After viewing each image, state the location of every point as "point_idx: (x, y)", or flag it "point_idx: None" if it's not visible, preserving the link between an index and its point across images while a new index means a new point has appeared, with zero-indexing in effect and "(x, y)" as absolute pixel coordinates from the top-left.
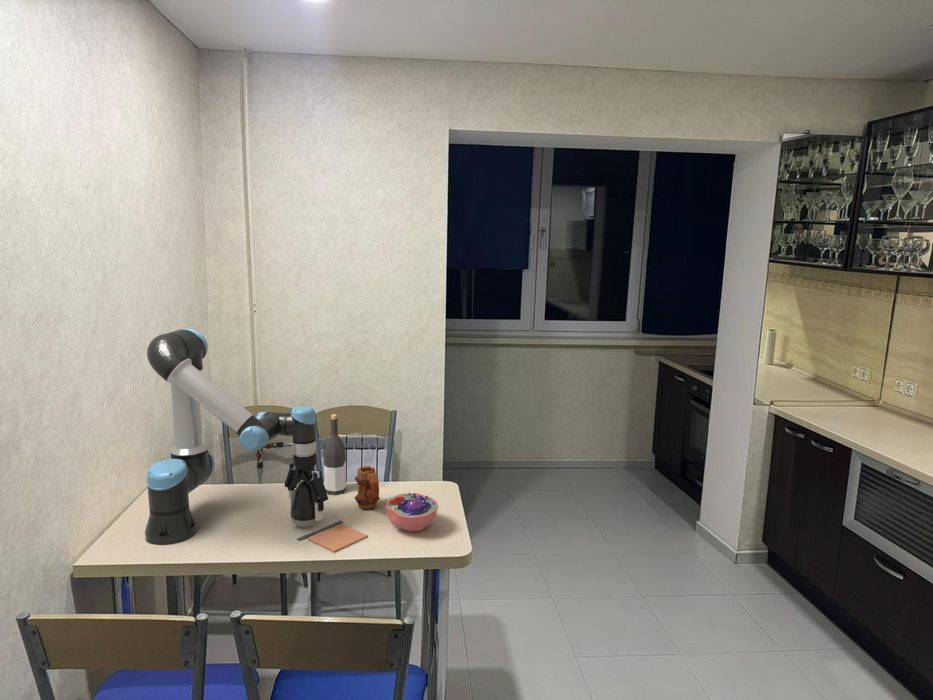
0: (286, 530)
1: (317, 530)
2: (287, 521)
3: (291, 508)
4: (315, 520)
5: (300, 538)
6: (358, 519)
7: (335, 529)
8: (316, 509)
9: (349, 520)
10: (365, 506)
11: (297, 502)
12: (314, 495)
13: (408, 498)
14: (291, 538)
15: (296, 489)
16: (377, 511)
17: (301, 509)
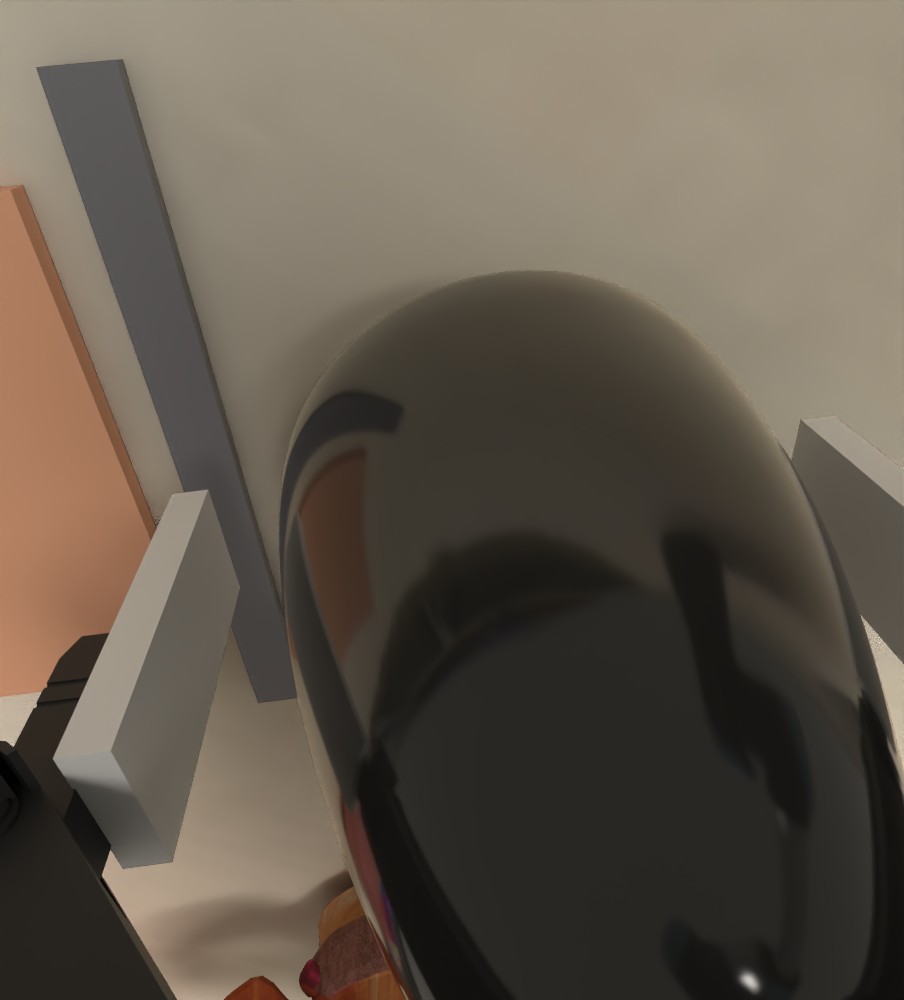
0: (529, 123)
1: (206, 428)
2: (743, 296)
3: (650, 348)
4: (205, 490)
5: (86, 108)
6: (237, 788)
7: (94, 578)
8: (115, 628)
9: (267, 738)
10: (347, 907)
11: (500, 486)
12: (82, 917)
13: None
14: (220, 11)
15: (802, 782)
16: (283, 906)
17: (371, 443)
